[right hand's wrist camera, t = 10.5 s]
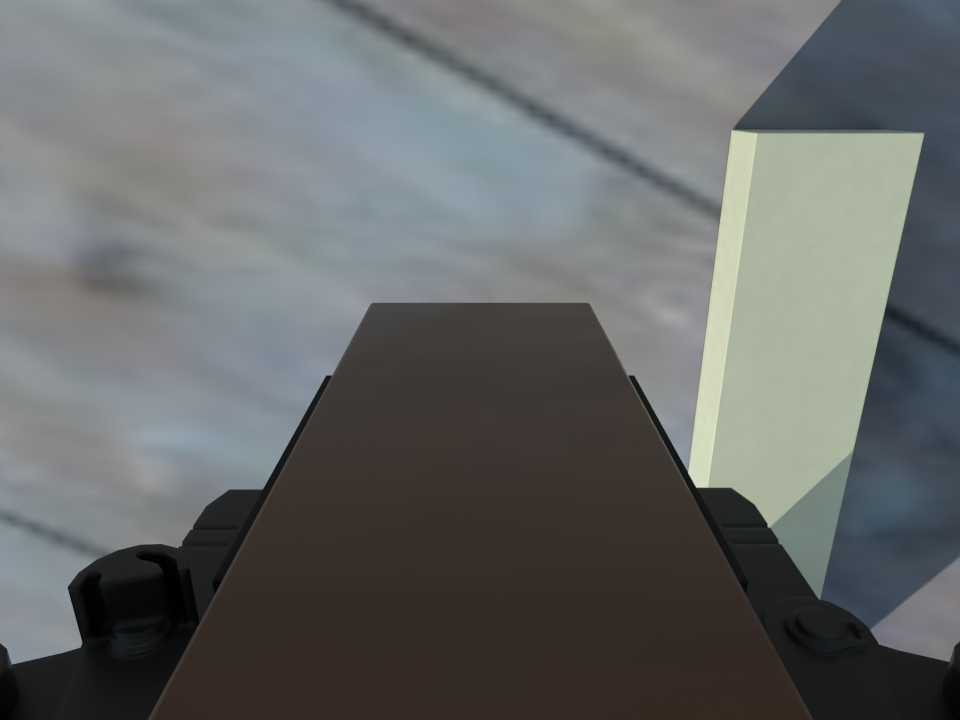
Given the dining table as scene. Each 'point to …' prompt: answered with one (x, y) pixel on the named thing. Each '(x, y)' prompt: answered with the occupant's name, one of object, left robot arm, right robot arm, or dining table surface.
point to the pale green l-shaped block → (798, 321)
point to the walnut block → (480, 546)
